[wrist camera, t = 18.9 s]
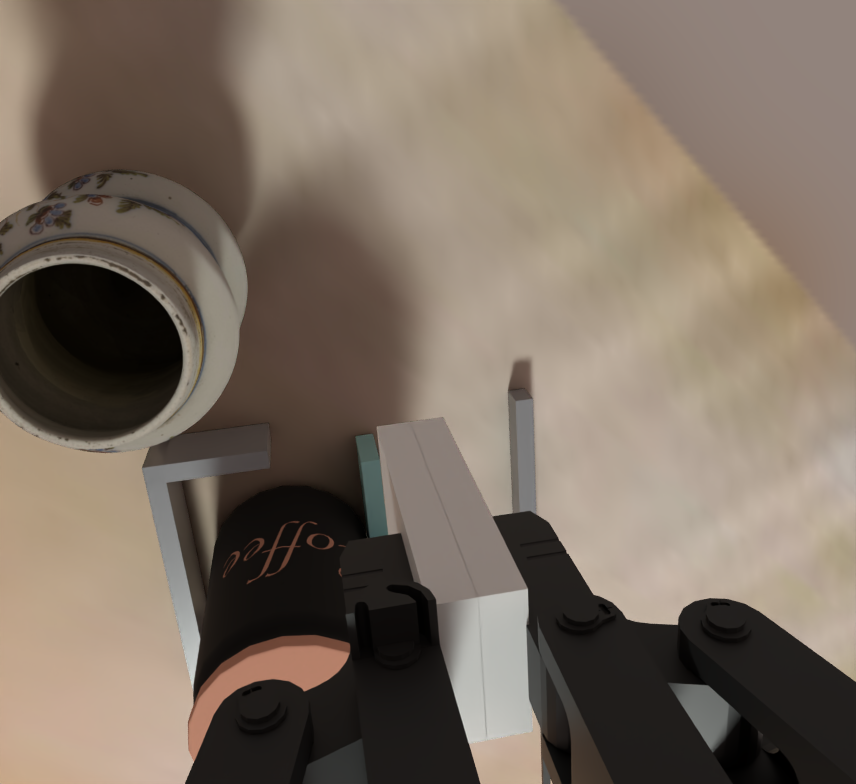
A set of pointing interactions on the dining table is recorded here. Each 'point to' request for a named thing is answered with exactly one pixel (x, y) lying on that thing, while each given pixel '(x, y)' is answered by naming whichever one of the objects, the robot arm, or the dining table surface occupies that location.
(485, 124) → the dining table surface
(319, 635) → the coffee jar
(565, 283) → the dining table surface
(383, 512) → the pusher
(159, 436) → the apothecary jar
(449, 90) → the dining table surface
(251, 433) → the grey piece
